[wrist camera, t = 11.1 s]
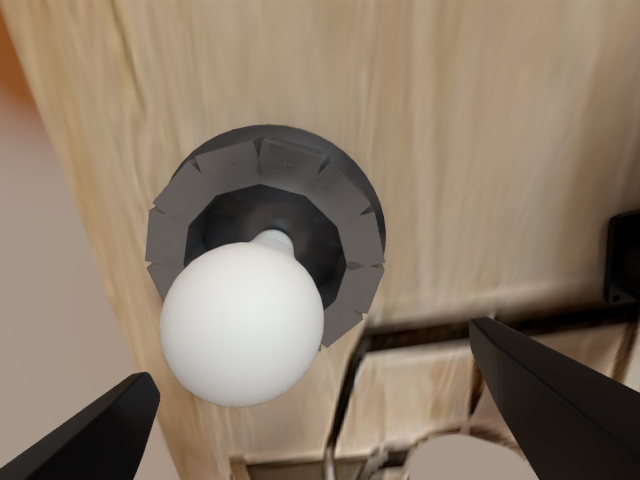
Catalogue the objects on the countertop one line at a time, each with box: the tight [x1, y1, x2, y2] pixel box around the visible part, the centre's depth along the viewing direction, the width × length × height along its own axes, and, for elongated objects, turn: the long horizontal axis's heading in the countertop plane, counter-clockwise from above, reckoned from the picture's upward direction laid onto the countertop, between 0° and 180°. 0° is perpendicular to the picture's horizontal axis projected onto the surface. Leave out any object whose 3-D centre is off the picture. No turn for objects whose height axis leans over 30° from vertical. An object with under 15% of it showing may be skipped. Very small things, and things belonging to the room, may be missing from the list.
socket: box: [145, 124, 386, 351], centre depth 19 cm, size 14×14×4 cm
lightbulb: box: [159, 230, 324, 408], centre depth 15 cm, size 6×6×11 cm
